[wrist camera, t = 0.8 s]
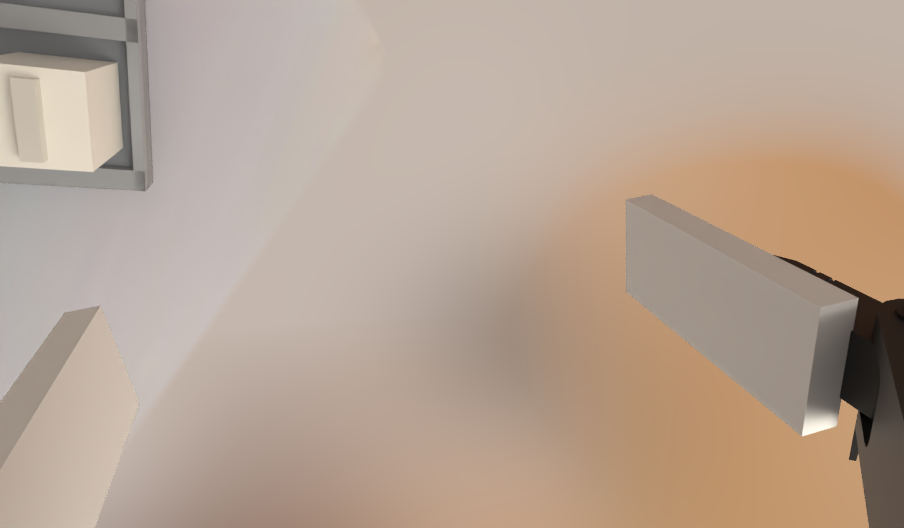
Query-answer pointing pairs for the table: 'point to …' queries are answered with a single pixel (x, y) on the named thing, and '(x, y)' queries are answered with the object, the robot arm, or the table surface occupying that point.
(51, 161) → the tab
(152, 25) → the table surface
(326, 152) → the table surface
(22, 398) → the robot arm
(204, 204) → the table surface
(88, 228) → the table surface
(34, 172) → the frame
